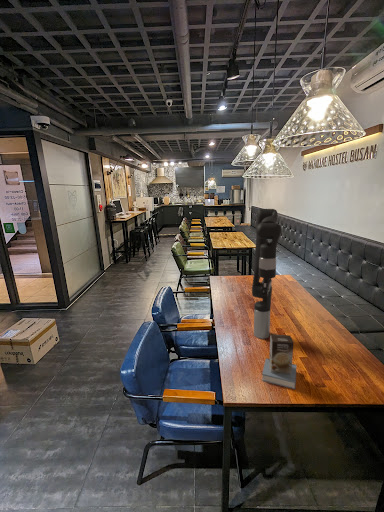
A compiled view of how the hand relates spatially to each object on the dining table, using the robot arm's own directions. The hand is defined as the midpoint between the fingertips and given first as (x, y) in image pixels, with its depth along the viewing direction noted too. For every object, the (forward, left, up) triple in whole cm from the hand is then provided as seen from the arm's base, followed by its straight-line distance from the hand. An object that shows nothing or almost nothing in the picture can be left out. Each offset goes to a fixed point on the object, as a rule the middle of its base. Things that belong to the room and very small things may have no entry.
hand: (266, 299), depth 117 cm
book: (+8, +8, -34) cm, 36 cm away
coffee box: (+8, +8, -31) cm, 33 cm away
